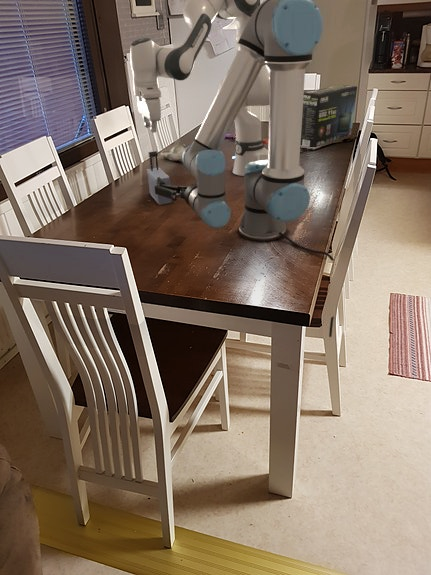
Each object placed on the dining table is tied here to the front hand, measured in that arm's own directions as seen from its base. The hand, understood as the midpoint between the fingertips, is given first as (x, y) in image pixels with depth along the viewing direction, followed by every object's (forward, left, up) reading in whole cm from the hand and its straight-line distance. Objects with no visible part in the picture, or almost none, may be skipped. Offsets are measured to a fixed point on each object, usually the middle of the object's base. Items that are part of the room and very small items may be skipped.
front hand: (178, 178), depth 151 cm
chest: (+22, -17, -16) cm, 31 cm away
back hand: (+25, -20, +9) cm, 33 cm away
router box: (-10, -123, -16) cm, 124 cm away
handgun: (+39, -110, -16) cm, 118 cm away
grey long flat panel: (+22, -17, -7) cm, 28 cm away
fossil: (+47, -68, -16) cm, 84 cm away
